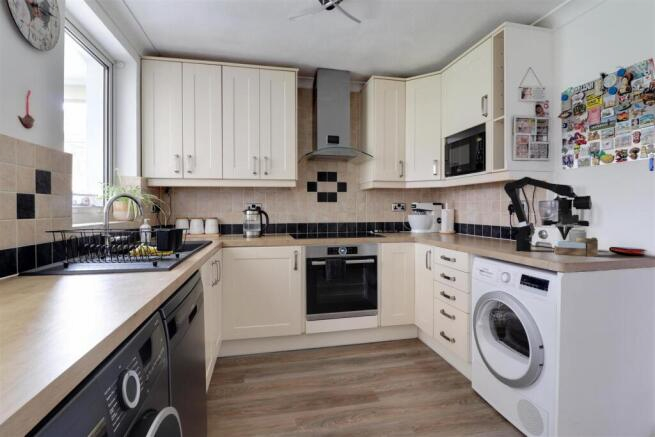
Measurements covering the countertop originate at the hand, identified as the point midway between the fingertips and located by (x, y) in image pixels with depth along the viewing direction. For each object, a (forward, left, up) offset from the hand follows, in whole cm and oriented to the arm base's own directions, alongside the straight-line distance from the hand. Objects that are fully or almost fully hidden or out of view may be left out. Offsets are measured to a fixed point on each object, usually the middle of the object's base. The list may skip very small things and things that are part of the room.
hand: (564, 239), depth 160 cm
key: (+9, 0, -1) cm, 9 cm away
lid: (+2, 0, -4) cm, 4 cm away
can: (+9, +20, -8) cm, 23 cm away
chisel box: (+5, 0, -7) cm, 9 cm away
